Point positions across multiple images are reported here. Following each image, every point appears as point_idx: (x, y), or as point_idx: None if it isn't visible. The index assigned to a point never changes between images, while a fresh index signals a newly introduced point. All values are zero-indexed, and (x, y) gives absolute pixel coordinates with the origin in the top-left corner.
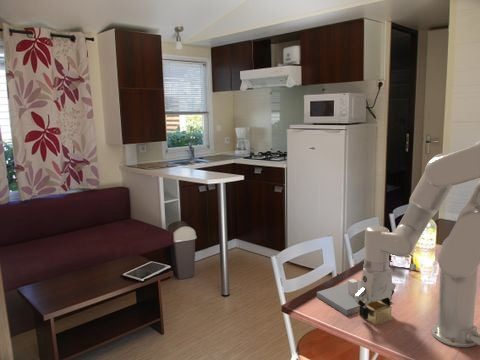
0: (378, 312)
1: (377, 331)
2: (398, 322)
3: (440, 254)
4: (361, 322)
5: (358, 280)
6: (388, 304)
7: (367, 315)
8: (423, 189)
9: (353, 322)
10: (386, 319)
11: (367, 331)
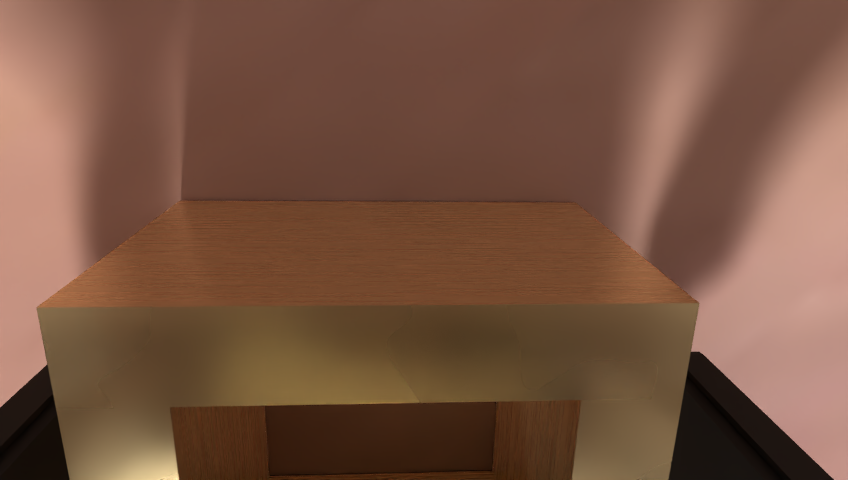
0: (579, 291)
1: (708, 38)
2: (127, 54)
3: None
4: None
5: None
6: (6, 463)
7: (718, 386)
8: None
9: None
10: (302, 210)
11: (833, 133)
